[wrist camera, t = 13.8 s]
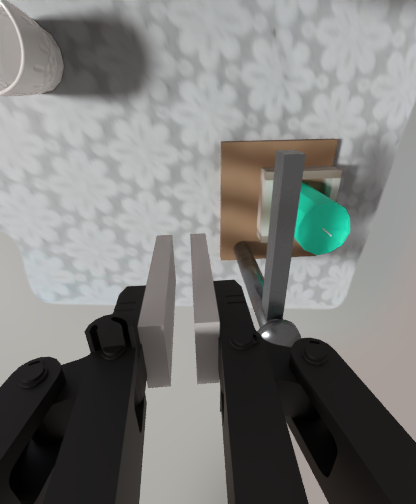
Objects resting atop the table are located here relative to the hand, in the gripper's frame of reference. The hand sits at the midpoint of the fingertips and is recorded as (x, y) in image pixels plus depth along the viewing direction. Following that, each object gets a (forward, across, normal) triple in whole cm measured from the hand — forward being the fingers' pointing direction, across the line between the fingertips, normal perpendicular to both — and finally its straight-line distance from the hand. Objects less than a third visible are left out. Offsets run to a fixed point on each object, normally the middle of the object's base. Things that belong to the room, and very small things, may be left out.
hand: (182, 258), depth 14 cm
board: (+25, +12, -6) cm, 29 cm away
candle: (+24, +15, -5) cm, 29 cm away
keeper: (+24, +8, -5) cm, 26 cm away
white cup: (+26, -16, +12) cm, 33 cm away
